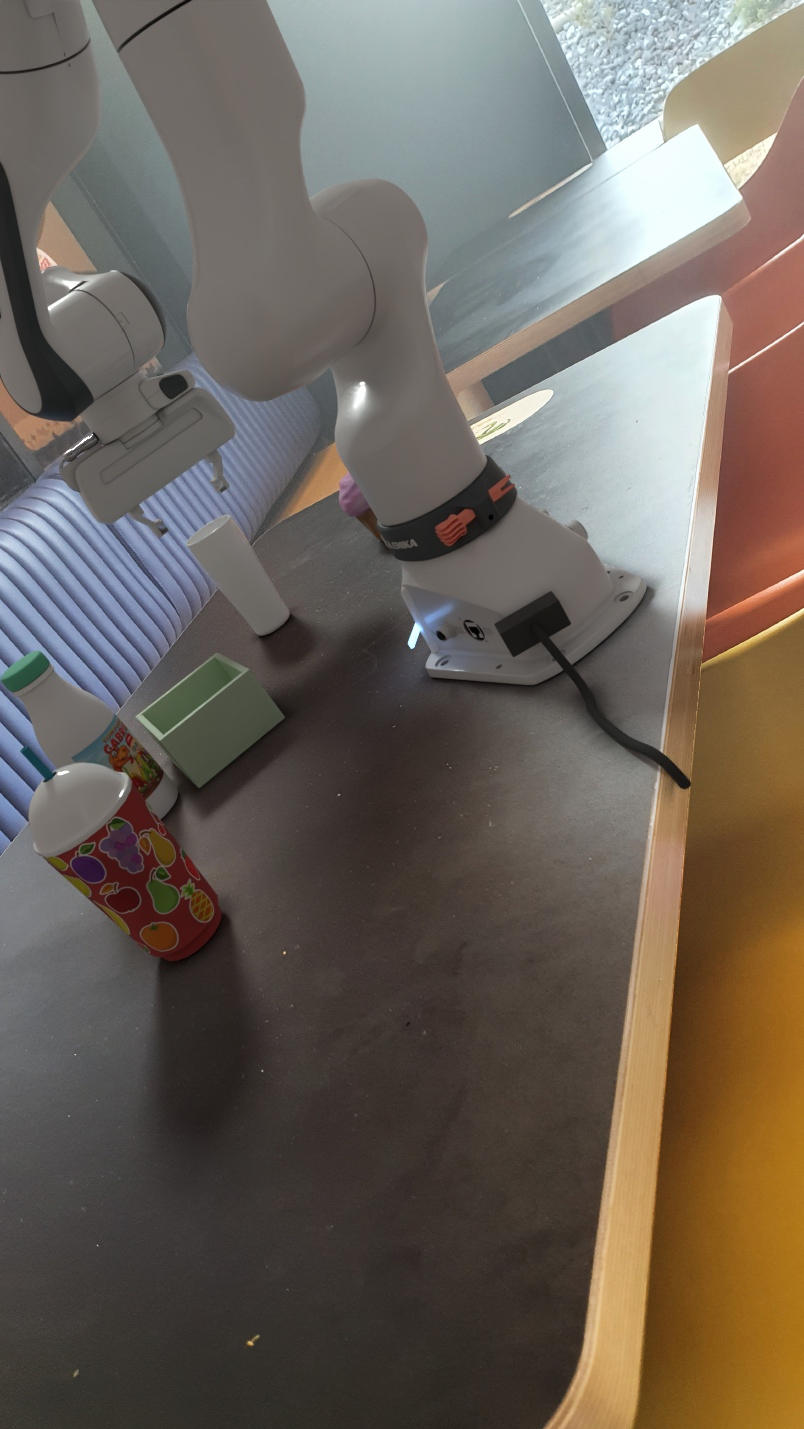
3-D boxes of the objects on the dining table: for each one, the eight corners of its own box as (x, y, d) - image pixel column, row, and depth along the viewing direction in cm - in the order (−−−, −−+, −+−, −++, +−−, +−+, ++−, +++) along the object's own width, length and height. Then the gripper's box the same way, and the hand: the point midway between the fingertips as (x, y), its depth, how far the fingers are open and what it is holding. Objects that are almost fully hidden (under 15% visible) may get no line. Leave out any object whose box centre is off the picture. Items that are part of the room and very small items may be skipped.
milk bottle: (116, 852, 96) (-23, 701, 87) (120, 815, 103) (-9, 672, 94) (181, 810, 96) (48, 654, 87) (180, 776, 103) (57, 629, 94)
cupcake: (360, 542, 135) (322, 481, 130) (411, 507, 135) (375, 445, 131) (374, 555, 127) (334, 491, 122) (429, 519, 127) (391, 453, 123)
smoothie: (201, 887, 82) (45, 709, 73) (255, 901, 75) (91, 709, 67) (132, 965, 77) (-42, 787, 69) (183, 986, 71) (-2, 793, 62)
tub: (285, 717, 100) (249, 669, 97) (199, 788, 98) (159, 740, 95) (250, 696, 110) (217, 652, 107) (171, 760, 108) (134, 716, 105)
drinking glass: (288, 629, 122) (219, 530, 115) (246, 647, 125) (176, 552, 118) (302, 602, 127) (237, 507, 121) (262, 621, 130) (196, 528, 123)
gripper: (54, 462, 107) (131, 564, 113) (200, 362, 112) (266, 465, 118) (46, 462, 112) (120, 559, 119) (185, 367, 117) (249, 465, 123)
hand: (194, 512), depth 118 cm, fingers open, 8 cm apart
